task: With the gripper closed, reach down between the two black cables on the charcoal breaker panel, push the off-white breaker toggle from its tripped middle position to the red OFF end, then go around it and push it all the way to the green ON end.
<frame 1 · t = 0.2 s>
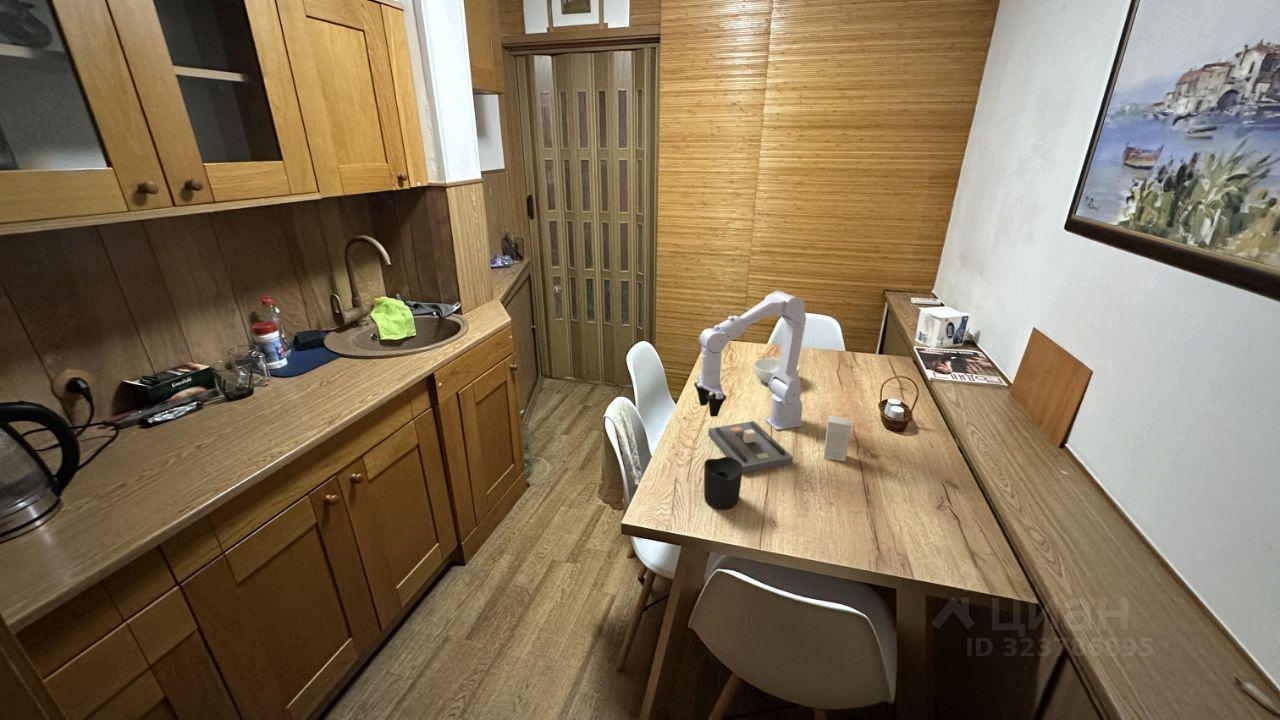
hand: (708, 410, 150), 10 cm above the table, tool pointing down, fingers open, 7 cm apart
breaker panel: (748, 449, 147), on the table
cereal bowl: (774, 382, 193), on the table
pen holder: (721, 499, 126), on the table
breaker toggle: (749, 436, 146), point 5 cm above the table, slide at 0.0 cm
skincare box: (833, 457, 144), on the table
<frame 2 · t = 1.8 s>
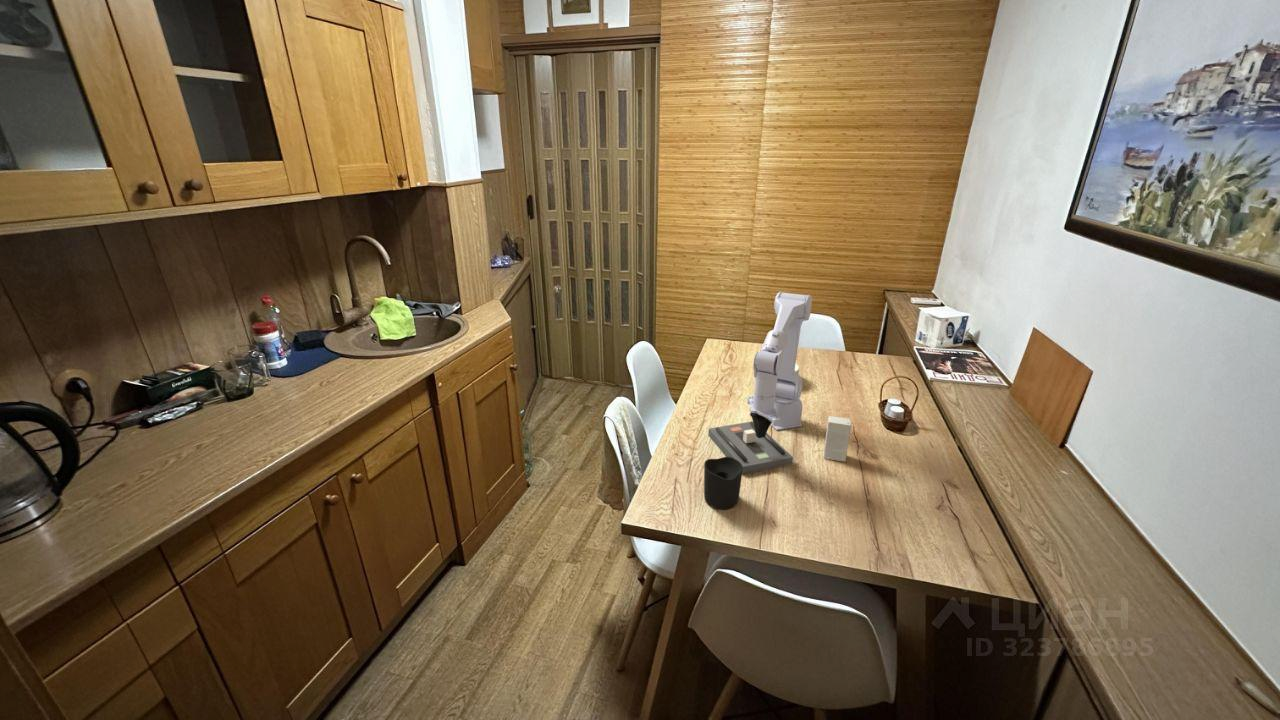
hand: (760, 436, 139), 8 cm above the table, tool pointing down, fingers closed
nothing on the table moved.
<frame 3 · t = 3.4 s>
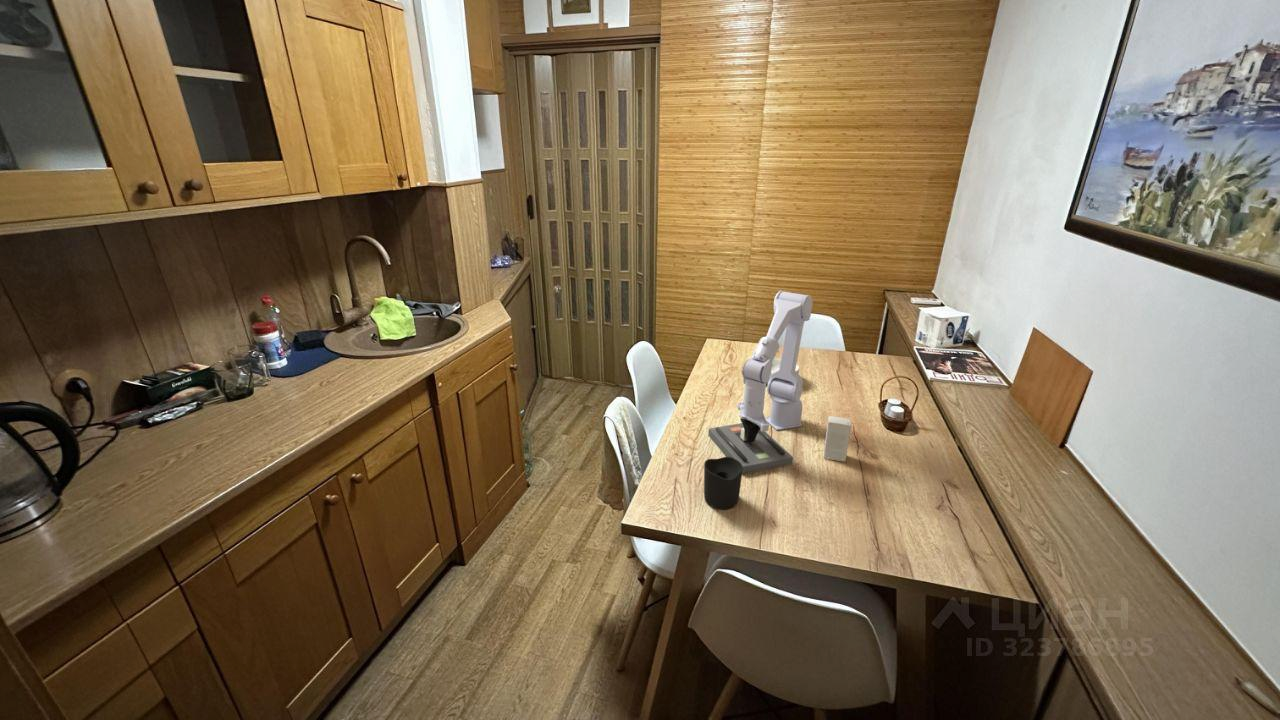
hand: (750, 440, 145), 3 cm above the table, tool pointing down, fingers closed
breaker toggle: (746, 433, 147), point 5 cm above the table, slide at -1.6 cm, touching gripper
everything else where it was.
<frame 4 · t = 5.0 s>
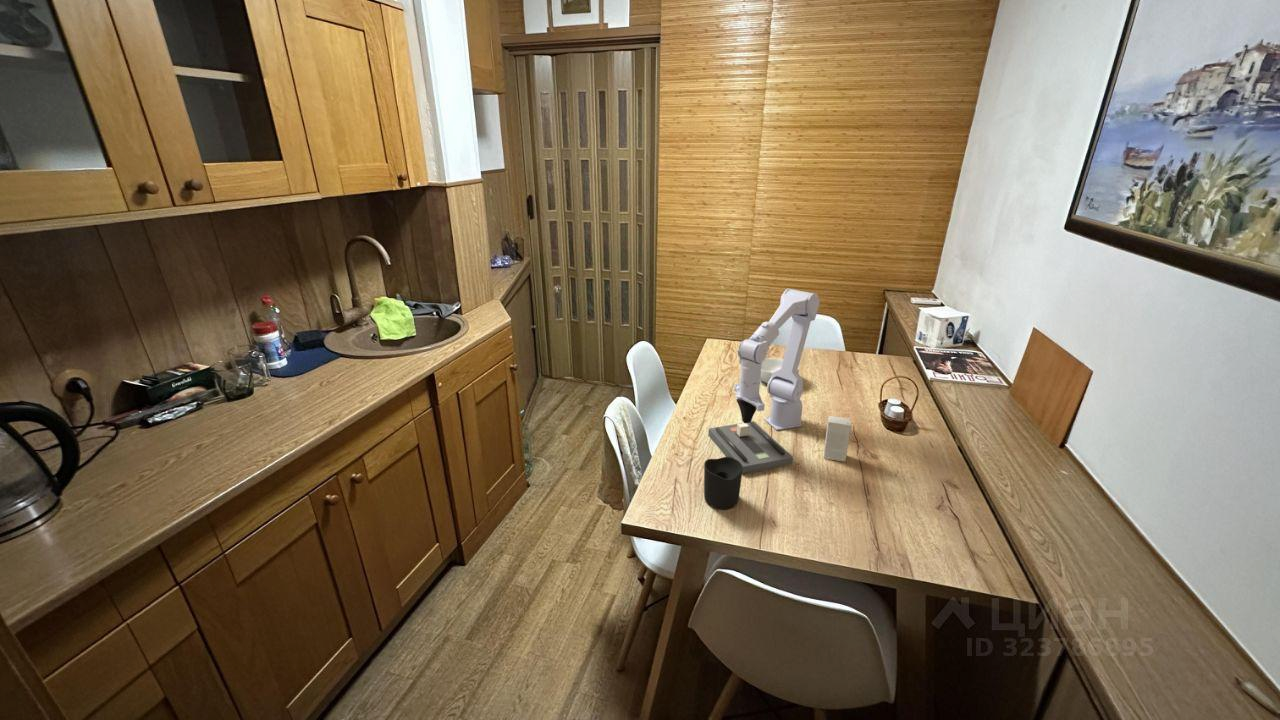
hand: (746, 421, 146), 8 cm above the table, tool pointing down, fingers closed
breaker toggle: (742, 429, 149), point 5 cm above the table, slide at -4.1 cm
everything else where it was.
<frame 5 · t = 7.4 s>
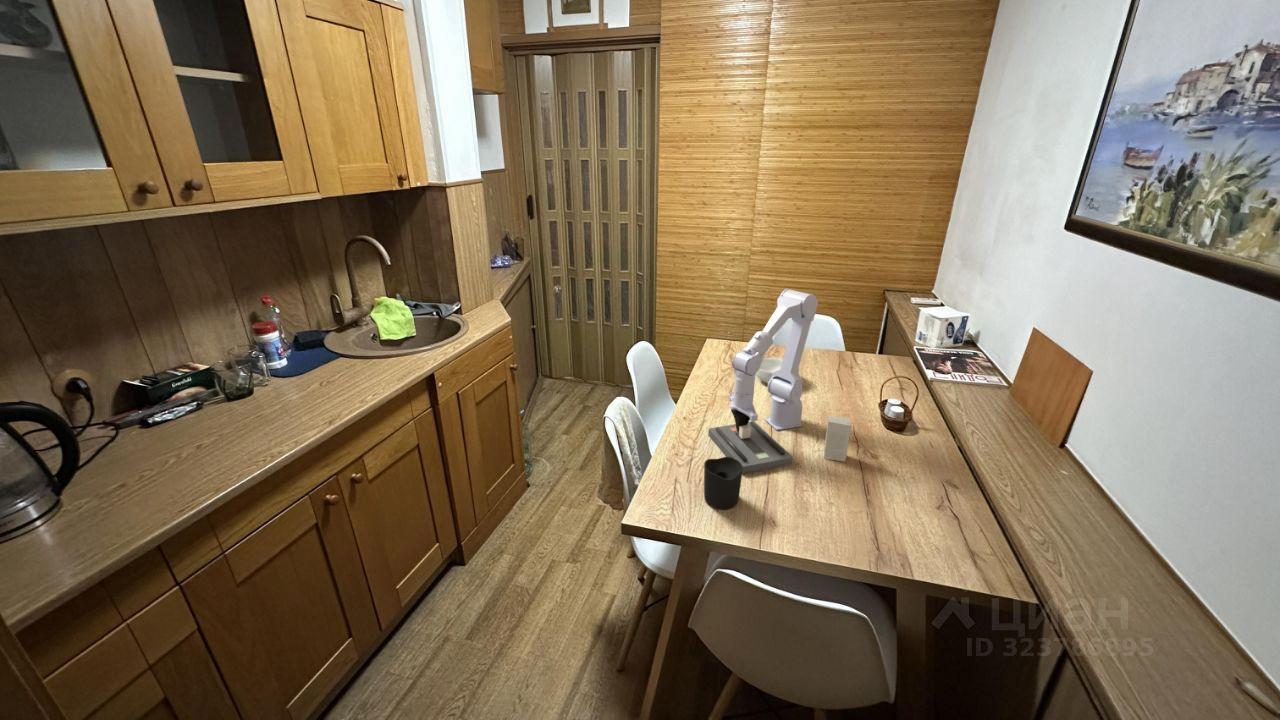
hand: (740, 431, 151), 3 cm above the table, tool pointing down, fingers closed
breaker toggle: (744, 431, 148), point 5 cm above the table, slide at -2.7 cm, touching gripper
everything else where it was.
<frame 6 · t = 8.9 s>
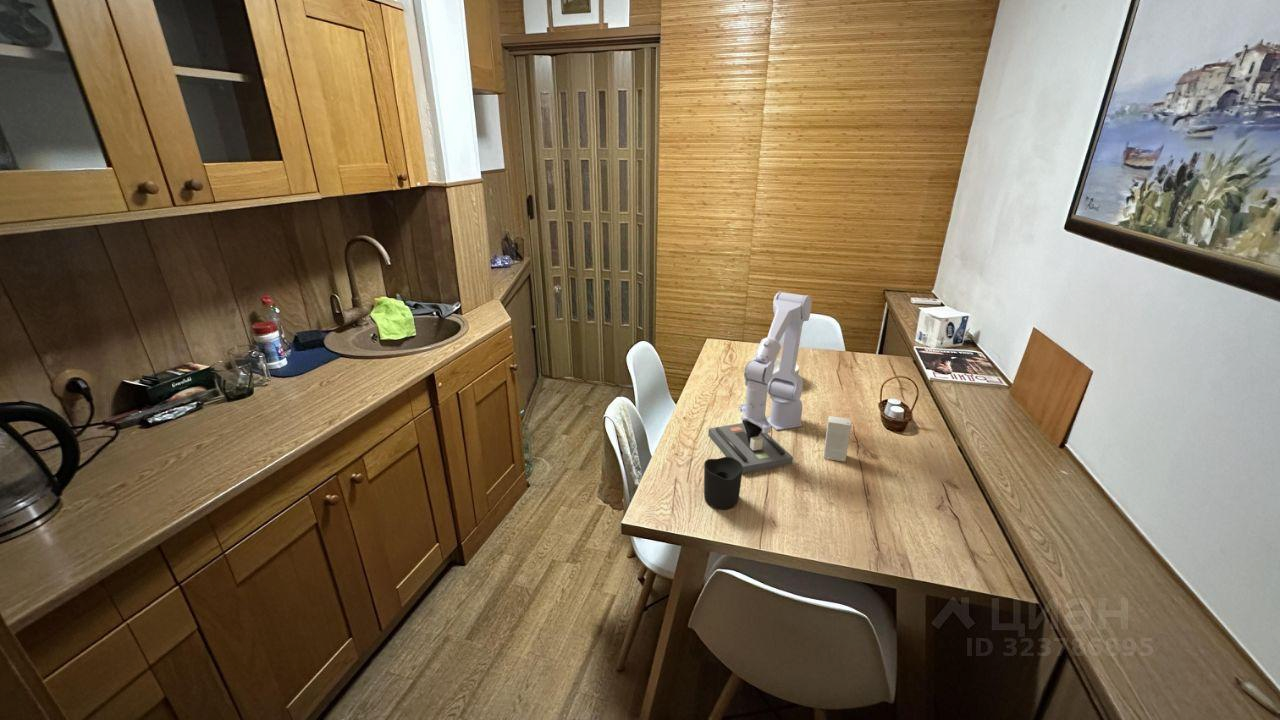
hand: (752, 442, 144), 3 cm above the table, tool pointing down, fingers closed
breaker toggle: (756, 443, 142), point 5 cm above the table, slide at 4.1 cm, touching gripper
everything else where it was.
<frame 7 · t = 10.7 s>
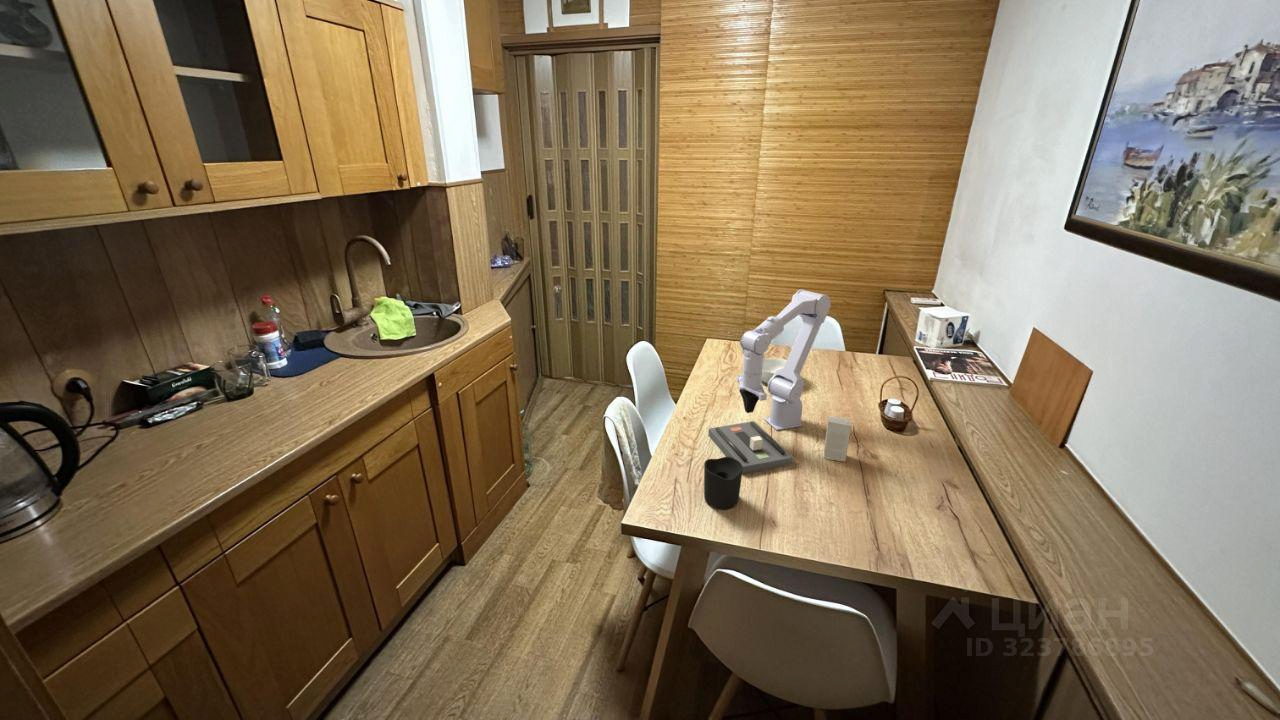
hand: (749, 411, 151), 9 cm above the table, tool pointing down, fingers closed
breaker toggle: (756, 443, 142), point 5 cm above the table, slide at 4.1 cm
everything else where it was.
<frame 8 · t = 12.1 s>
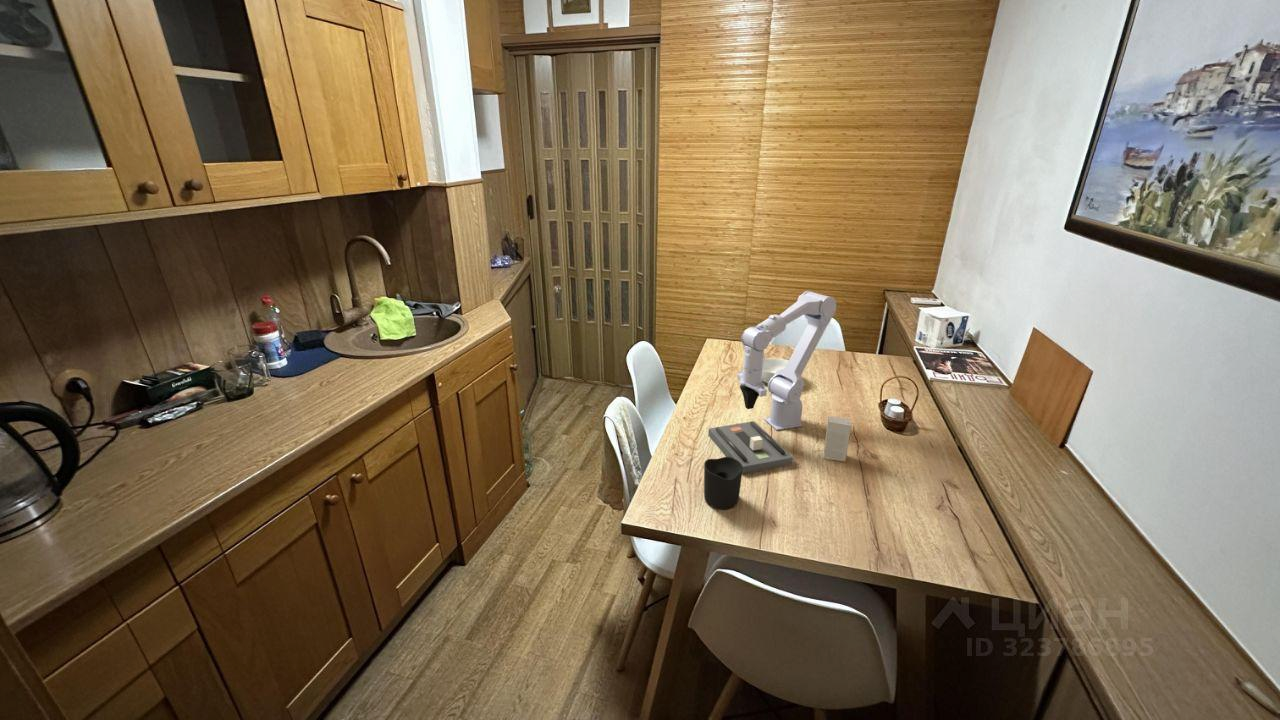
hand: (749, 407, 152), 9 cm above the table, tool pointing down, fingers closed
nothing on the table moved.
at the end: breaker toggle slide at 4.1 cm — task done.
